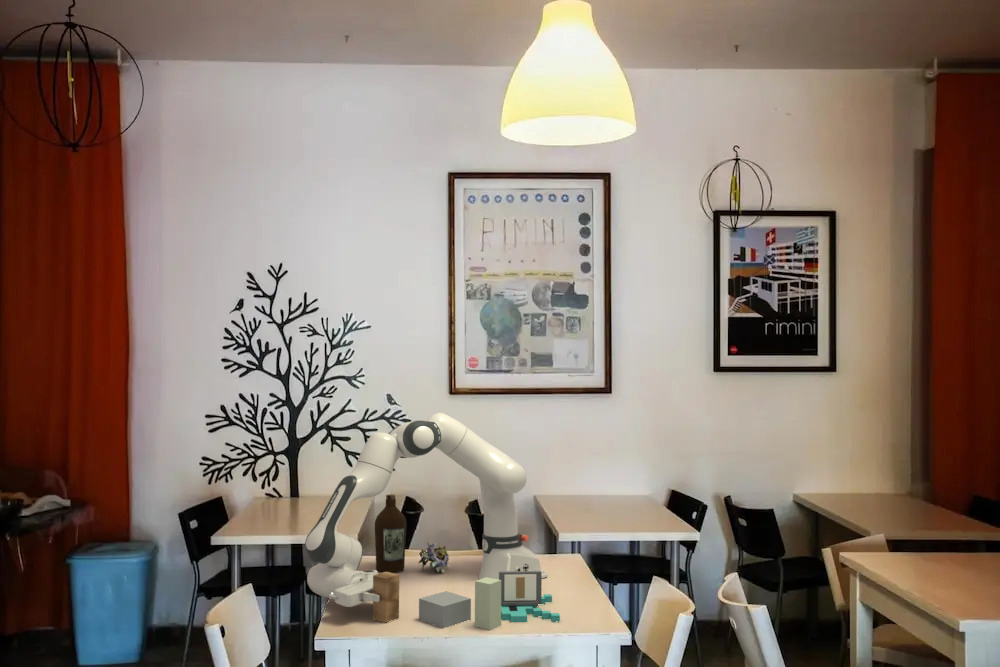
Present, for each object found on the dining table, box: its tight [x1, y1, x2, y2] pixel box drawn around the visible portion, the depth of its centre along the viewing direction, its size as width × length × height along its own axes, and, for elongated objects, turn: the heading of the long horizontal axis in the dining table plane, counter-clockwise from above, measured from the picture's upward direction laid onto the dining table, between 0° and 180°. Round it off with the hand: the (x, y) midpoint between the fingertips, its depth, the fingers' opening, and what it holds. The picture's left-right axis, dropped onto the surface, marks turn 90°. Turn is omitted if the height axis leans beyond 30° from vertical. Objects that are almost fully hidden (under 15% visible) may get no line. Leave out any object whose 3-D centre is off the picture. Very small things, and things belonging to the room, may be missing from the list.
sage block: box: [474, 577, 502, 631], centre depth 222 cm, size 5×5×12 cm
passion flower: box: [418, 541, 450, 574], centre depth 278 cm, size 11×11×12 cm
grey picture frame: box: [499, 571, 543, 606], centre depth 236 cm, size 12×5×9 cm, turn 94°
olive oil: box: [374, 493, 407, 574], centre depth 279 cm, size 11×11×25 cm
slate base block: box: [418, 590, 472, 629], centre depth 227 cm, size 10×10×6 cm
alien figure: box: [501, 593, 561, 623], centre depth 235 cm, size 20×2×20 cm
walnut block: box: [372, 572, 400, 623], centre depth 227 cm, size 5×5×12 cm
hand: (388, 595), depth 227 cm, fingers closed on walnut block, 5 cm apart
